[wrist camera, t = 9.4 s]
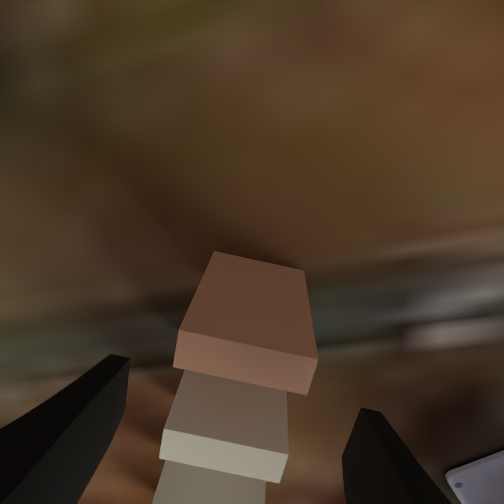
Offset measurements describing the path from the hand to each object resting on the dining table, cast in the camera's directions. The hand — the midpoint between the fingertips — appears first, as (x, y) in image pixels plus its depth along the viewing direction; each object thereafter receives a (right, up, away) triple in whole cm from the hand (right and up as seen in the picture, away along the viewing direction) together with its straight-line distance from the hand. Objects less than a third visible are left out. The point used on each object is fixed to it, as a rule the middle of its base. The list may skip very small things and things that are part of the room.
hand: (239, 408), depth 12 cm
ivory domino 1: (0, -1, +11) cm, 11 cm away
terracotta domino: (+1, +4, +9) cm, 10 cm away
